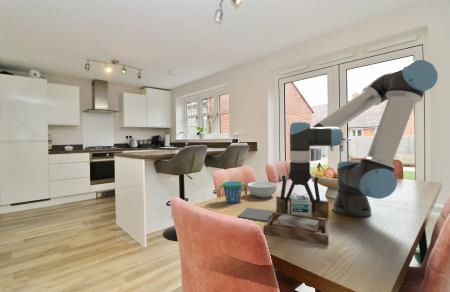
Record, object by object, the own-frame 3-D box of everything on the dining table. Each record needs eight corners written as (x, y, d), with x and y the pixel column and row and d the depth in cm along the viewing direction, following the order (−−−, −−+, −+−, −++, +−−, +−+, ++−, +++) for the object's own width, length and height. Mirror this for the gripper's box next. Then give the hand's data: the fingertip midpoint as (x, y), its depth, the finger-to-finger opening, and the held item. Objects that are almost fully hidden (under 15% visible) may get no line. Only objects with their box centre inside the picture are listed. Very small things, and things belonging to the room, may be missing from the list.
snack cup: (220, 205, 116) (219, 185, 115) (217, 200, 126) (216, 181, 126) (249, 203, 118) (249, 184, 118) (244, 198, 129) (244, 180, 128)
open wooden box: (328, 220, 94) (328, 201, 93) (328, 244, 72) (328, 219, 72) (276, 213, 102) (276, 196, 102) (263, 234, 81) (263, 211, 81)
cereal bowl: (256, 191, 146) (256, 180, 146) (281, 194, 136) (281, 183, 136) (242, 197, 132) (242, 184, 132) (269, 201, 122) (268, 188, 122)
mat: (274, 212, 105) (274, 210, 105) (267, 221, 93) (267, 220, 93) (247, 208, 110) (247, 207, 110) (237, 217, 98) (237, 216, 98)
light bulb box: (310, 228, 85) (311, 199, 85) (292, 227, 87) (292, 199, 86) (306, 218, 96) (306, 193, 96) (290, 217, 97) (290, 192, 97)
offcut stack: (321, 235, 80) (321, 220, 80) (318, 242, 75) (318, 226, 75) (276, 227, 88) (276, 213, 88) (271, 232, 83) (271, 218, 83)
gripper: (328, 161, 90) (327, 218, 91) (275, 159, 98) (276, 212, 99) (328, 163, 83) (327, 225, 84) (271, 161, 91) (272, 218, 92)
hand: (299, 218), depth 91 cm, fingers closed on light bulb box, 7 cm apart
